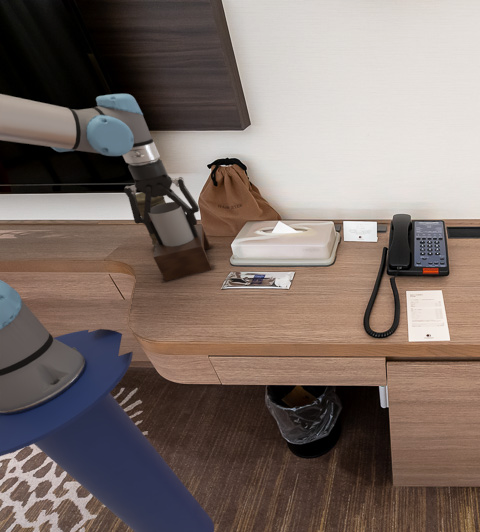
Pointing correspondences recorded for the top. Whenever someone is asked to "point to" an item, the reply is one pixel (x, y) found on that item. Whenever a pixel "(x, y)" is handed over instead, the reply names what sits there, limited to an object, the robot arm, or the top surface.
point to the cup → (171, 224)
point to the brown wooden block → (183, 257)
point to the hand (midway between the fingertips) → (179, 238)
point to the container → (154, 202)
